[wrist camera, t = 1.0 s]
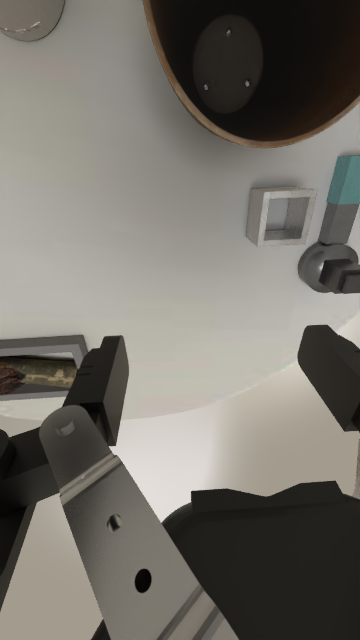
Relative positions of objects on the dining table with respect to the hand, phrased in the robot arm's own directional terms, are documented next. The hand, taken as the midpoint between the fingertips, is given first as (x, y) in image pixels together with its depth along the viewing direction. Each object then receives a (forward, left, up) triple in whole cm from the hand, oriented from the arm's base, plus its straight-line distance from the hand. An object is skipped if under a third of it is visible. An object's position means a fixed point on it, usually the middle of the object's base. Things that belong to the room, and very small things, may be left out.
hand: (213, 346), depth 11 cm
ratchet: (+1, +21, -26) cm, 34 cm away
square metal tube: (-1, +12, -26) cm, 29 cm away
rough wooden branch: (+23, -28, -27) cm, 45 cm away
